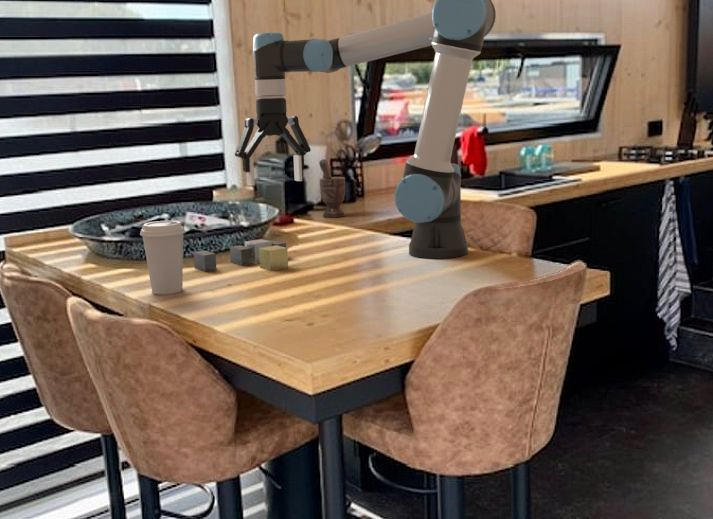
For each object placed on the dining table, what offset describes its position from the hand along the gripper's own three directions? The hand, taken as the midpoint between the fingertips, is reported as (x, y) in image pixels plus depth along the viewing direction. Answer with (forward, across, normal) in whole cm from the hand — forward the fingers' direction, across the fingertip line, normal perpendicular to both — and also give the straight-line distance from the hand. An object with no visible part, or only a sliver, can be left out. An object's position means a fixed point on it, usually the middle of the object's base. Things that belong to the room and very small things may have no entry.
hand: (274, 183), depth 214 cm
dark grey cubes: (+20, +10, -1) cm, 22 cm away
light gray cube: (+20, +5, -2) cm, 20 cm away
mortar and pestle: (+20, -49, -52) cm, 74 cm away
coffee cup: (+20, +36, +16) cm, 44 cm away
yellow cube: (+20, +6, +9) cm, 23 cm away
